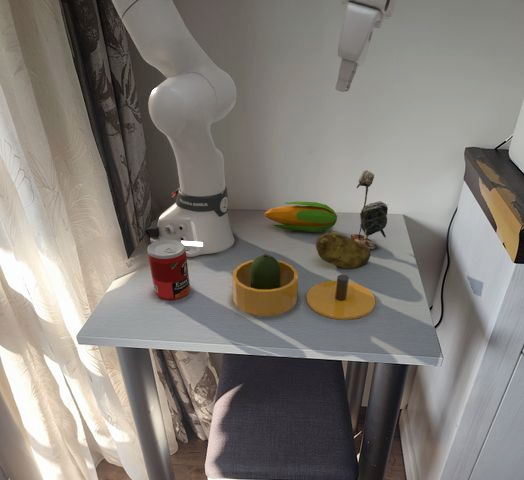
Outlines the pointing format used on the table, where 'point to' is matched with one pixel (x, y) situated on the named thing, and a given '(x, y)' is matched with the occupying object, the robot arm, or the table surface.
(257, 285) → the avocado
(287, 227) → the corn
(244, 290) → the pot
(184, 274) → the canned food
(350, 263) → the potato
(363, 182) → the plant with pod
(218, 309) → the table surface
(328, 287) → the lid
